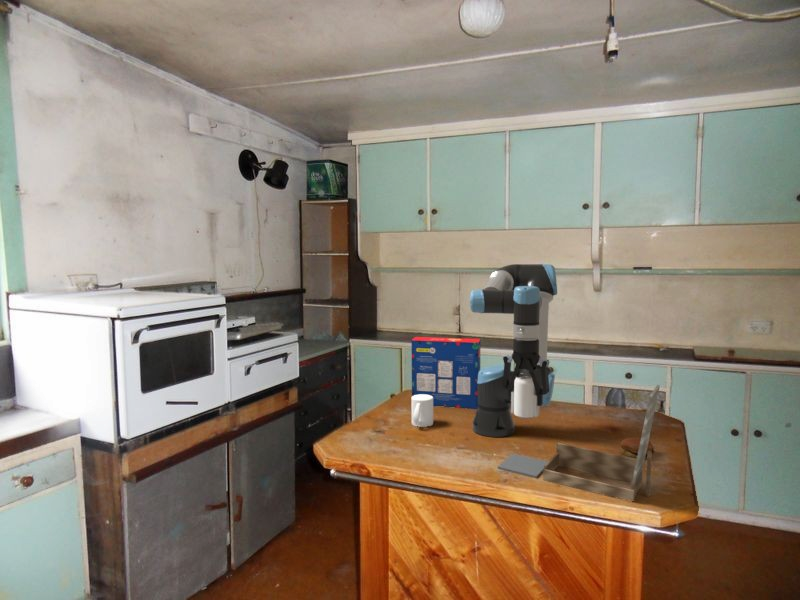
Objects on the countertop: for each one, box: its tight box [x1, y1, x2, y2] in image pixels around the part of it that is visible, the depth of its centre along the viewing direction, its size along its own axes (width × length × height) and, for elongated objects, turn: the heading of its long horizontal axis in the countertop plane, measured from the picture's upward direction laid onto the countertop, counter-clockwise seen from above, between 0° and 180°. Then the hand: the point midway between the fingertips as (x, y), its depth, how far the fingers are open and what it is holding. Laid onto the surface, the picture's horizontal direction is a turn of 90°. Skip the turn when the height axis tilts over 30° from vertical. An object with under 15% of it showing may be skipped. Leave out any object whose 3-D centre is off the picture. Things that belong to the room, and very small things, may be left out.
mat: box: [497, 453, 549, 479], centre depth 159 cm, size 12×12×1 cm
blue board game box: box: [411, 336, 481, 410], centre depth 220 cm, size 28×8×28 cm, turn 76°
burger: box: [619, 437, 655, 459], centre depth 167 cm, size 10×9×5 cm
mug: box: [410, 394, 434, 428], centre depth 196 cm, size 8×10×12 cm
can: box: [513, 374, 536, 419], centre depth 156 cm, size 6×6×12 cm
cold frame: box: [542, 384, 661, 502], centre depth 145 cm, size 28×12×29 cm, turn 55°
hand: (525, 413), depth 157 cm, fingers closed on can, 6 cm apart
